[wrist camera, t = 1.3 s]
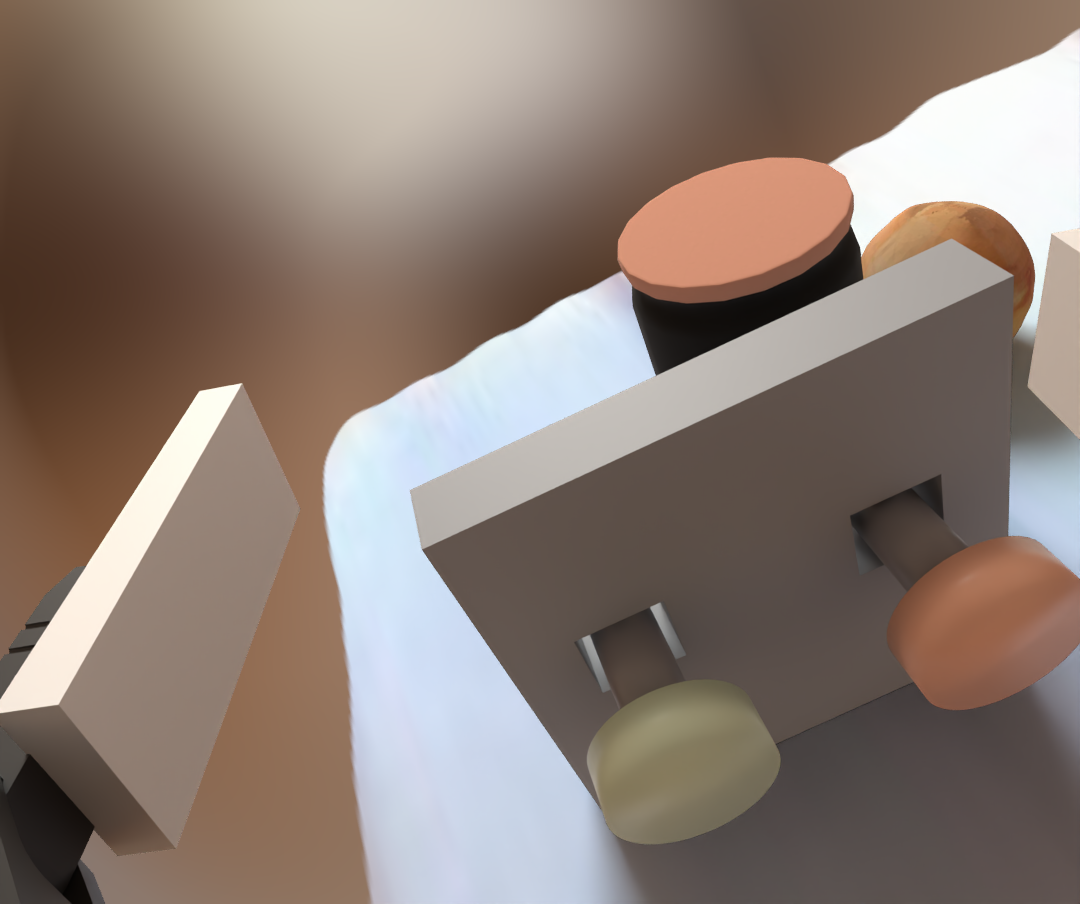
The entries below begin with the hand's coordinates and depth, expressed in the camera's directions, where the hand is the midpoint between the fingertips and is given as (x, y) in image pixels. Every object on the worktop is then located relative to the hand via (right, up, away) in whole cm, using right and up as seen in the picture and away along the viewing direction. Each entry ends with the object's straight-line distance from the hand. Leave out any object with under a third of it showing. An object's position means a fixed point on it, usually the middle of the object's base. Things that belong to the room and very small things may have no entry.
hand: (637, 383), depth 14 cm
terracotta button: (+13, -7, +18) cm, 23 cm away
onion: (+24, +5, +39) cm, 46 cm away
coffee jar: (+13, -3, +35) cm, 38 cm away
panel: (+10, -13, +25) cm, 30 cm away
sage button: (+3, -12, +18) cm, 22 cm away
